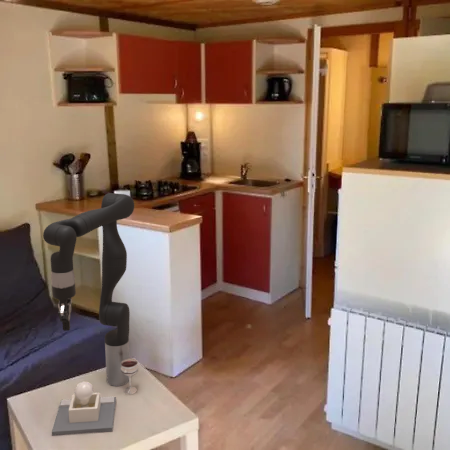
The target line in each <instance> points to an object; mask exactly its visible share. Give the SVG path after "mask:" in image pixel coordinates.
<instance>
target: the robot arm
mask: <svg viewBox="0 0 450 450" xmlns="http://www.w3.org/2000/svg"><path fill="white" fill-rule="evenodd" d="M134 210H135V201H134V199H133V197H132V196H130V195H128V194H124V193H115V192H108V193H106V194H105V195H104V196H103V198H102V200H101V207H100V208H95V209H90V210H86V211H84V212H82V213H79V214H77V215H75V216H73V217H72V218H71V217H70V218H66V219H63V220H58V221H55V222H51V223H50V224H49V225H47V226H46V227H45V229H44V230H43V234H42V237H43V240H44V242H45V243H46V244H48V245H51V246H55V247H56V246H57V247H59V251H56V252H53V253H51V255H50V271H51V274H50V281H51V282H50V283H51V294H52V295H51V296H52V297H53V298H54V299H55V300H58V302H57V308H58V312H57V315H58V318H59V321H60V322H62V330H63V331H65V332H67V331H70V329H71V321H70V320H71V314H72V303H73V302H72V301H73V299H72V298H73V297H75V296H76V294H77V293H76V279H75V277H76V276H75V275H76V274H75V272H74V262H73V261H74V260H73V257H74V253H75V248H76V244H77V238H81V237H83V236H85V235H87V234H88V233H91V232H93V231H95V230H96V229H99V228H100V227H102V254H101V289H100V300H99V308H98V321H99V323H100V324H101V325H103V326H108V327H116V329H112V330H110V331H107V333H105V335H104V349H105V352H104V353H105V369H106V370H105V372H106V373H105V374H106V382H107V384H108V385H110V386H114V387H119V386H124V385H126V384H129V377H128V376H125V375H124V374H123V373H122V372H121V369H120V368H121V364H120V363H121V362H122V361H123V360H125V359H129V358H130V338H129V337H130V316H131V315H130V314H131V313H130V307H129V305H128V304H127V303H125V302H118V301H113V294H114V291H115V289H116V286H117V285H118V284H119V282H120V281H121V279H122V278H123V276H124V275H125V274H126V273H125V272H126V270H127V265H128V264H127V261H128V255H127V254H128V253H127V249H126V246H125V244H124V242H123V240H122V238H121V236H120V233H119V231H118V226H117V225H118V223H117V222H118V221H121V220H124V219H127V218H129V217H130V216H132V215H133V212H134Z"/></svg>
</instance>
